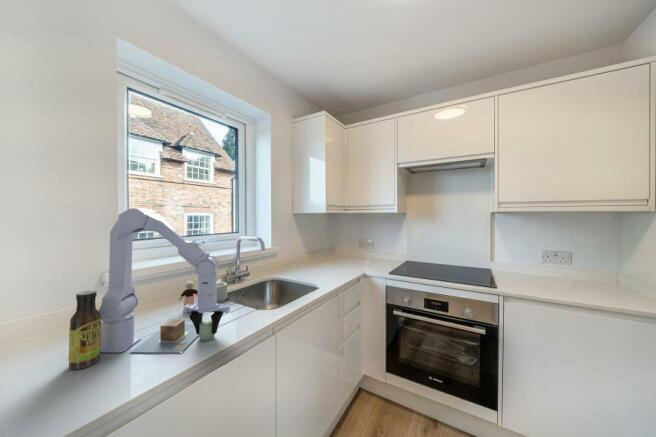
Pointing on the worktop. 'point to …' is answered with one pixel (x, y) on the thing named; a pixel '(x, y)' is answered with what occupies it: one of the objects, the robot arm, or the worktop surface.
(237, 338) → the worktop surface
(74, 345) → the sauce bottle
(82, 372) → the worktop surface
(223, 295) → the lumpy-topped squat cylinder
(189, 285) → the grandmother figurine
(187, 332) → the board
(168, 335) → the walnut block
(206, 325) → the sage drum
